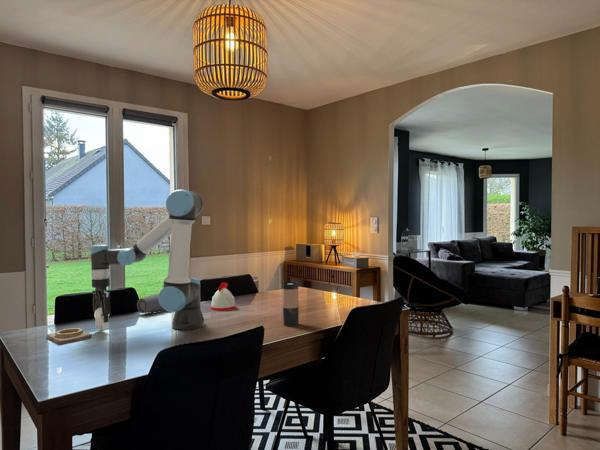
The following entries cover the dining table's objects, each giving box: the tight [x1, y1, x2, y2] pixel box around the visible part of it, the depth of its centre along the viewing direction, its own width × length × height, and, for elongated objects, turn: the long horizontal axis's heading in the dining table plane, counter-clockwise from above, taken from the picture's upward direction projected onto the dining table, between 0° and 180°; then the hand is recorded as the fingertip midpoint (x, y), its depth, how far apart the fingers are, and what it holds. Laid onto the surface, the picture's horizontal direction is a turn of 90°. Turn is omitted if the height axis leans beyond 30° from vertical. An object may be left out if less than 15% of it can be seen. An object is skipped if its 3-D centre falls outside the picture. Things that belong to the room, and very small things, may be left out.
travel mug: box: [282, 281, 300, 327], centre depth 204 cm, size 8×8×20 cm
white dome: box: [210, 281, 236, 312], centre depth 244 cm, size 14×14×15 cm
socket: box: [46, 327, 93, 346], centre depth 186 cm, size 16×13×3 cm
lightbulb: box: [93, 308, 110, 332], centre depth 196 cm, size 6×6×11 cm
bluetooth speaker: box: [136, 293, 165, 314], centre depth 239 cm, size 23×9×10 cm, turn 148°
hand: (102, 328), depth 196 cm, fingers closed on lightbulb, 6 cm apart
